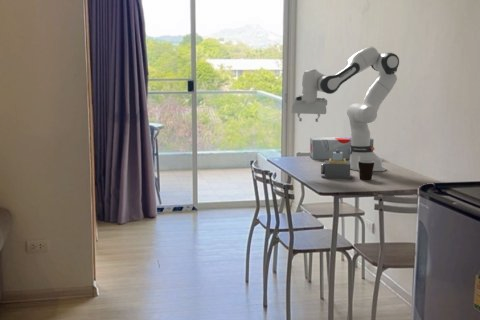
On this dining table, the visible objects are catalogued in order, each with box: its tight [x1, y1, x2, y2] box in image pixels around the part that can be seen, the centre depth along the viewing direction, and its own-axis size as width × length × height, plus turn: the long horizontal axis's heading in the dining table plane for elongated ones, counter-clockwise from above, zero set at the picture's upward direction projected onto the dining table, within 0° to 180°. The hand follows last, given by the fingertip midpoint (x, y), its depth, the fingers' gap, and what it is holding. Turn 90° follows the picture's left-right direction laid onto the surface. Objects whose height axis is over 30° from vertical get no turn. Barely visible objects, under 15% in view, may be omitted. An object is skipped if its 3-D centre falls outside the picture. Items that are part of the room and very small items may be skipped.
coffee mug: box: [358, 160, 374, 182], centre depth 320 cm, size 12×9×10 cm
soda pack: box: [309, 136, 374, 161], centre depth 388 cm, size 41×13×14 cm, turn 93°
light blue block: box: [333, 150, 342, 161], centre depth 326 cm, size 5×5×7 cm
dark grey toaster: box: [320, 158, 351, 180], centre depth 328 cm, size 16×11×10 cm
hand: (308, 121), depth 340 cm, fingers open, 8 cm apart
